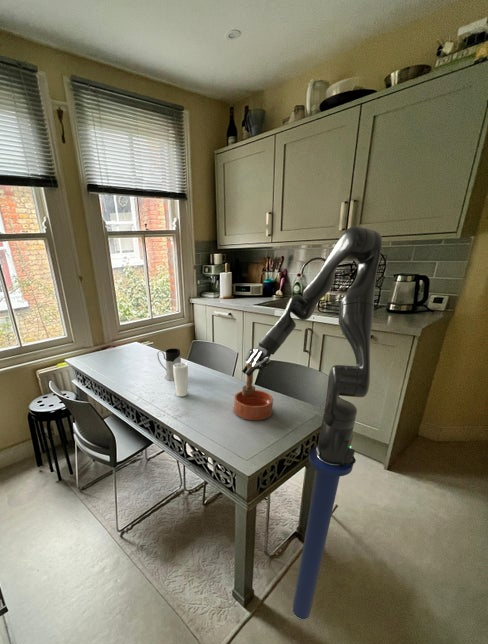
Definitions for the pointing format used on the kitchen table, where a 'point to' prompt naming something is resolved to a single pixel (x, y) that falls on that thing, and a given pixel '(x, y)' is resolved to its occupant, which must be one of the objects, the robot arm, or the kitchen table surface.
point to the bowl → (253, 405)
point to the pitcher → (171, 361)
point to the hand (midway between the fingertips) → (245, 373)
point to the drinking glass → (180, 378)
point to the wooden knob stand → (248, 385)
